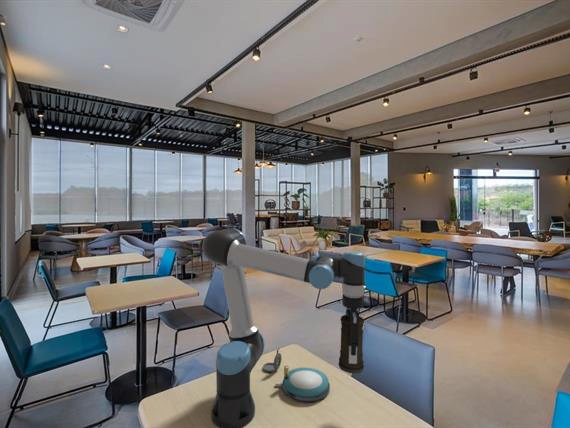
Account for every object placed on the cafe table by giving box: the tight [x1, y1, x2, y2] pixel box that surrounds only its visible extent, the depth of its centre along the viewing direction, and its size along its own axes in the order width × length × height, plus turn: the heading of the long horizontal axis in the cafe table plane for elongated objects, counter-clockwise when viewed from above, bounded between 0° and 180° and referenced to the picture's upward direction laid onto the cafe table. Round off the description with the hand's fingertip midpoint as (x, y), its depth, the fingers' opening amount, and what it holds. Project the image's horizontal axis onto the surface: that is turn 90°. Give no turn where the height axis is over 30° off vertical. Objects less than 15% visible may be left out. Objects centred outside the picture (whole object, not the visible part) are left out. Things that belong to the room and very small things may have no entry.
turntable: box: [283, 365, 329, 397], centre depth 124 cm, size 18×18×6 cm
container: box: [338, 314, 365, 374], centre depth 112 cm, size 9×9×18 cm
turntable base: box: [275, 379, 331, 404], centre depth 124 cm, size 22×19×2 cm
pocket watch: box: [262, 347, 282, 373], centre depth 137 cm, size 8×8×10 cm
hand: (351, 356), depth 112 cm, fingers closed on container, 8 cm apart
